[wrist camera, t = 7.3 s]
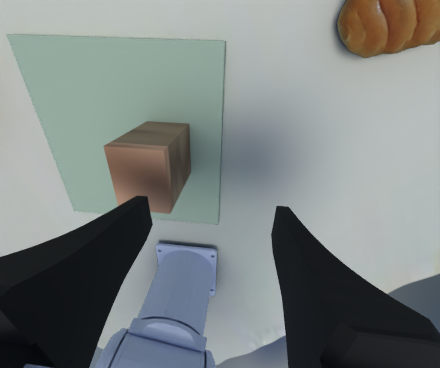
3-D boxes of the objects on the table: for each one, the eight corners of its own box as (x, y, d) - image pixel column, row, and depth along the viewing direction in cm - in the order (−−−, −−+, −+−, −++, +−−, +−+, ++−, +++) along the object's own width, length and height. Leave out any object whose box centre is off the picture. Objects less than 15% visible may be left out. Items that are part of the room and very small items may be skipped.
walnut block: (191, 172, 22) (170, 213, 16) (153, 169, 22) (118, 208, 16) (189, 123, 19) (163, 150, 13) (147, 121, 20) (103, 146, 14)
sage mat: (218, 221, 25) (217, 224, 25) (77, 208, 27) (74, 211, 26) (225, 41, 16) (224, 40, 16) (13, 35, 18) (6, 34, 17)
